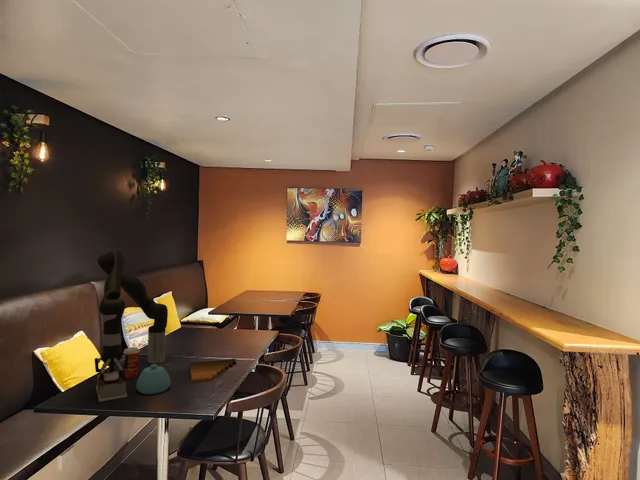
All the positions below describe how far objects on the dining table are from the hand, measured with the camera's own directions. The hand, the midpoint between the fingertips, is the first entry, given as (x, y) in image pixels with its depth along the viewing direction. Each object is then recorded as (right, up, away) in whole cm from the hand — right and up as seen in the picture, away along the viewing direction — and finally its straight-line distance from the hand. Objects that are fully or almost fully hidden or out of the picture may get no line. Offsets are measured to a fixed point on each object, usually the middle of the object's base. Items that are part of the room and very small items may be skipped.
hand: (111, 379), depth 186 cm
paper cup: (-1, -6, +22) cm, 23 cm away
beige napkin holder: (-1, -6, +1) cm, 6 cm away
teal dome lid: (+17, -7, +5) cm, 19 cm away
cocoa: (0, -3, 0) cm, 3 cm away
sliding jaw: (-5, -5, +7) cm, 10 cm away
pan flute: (+39, -8, +31) cm, 51 cm away
